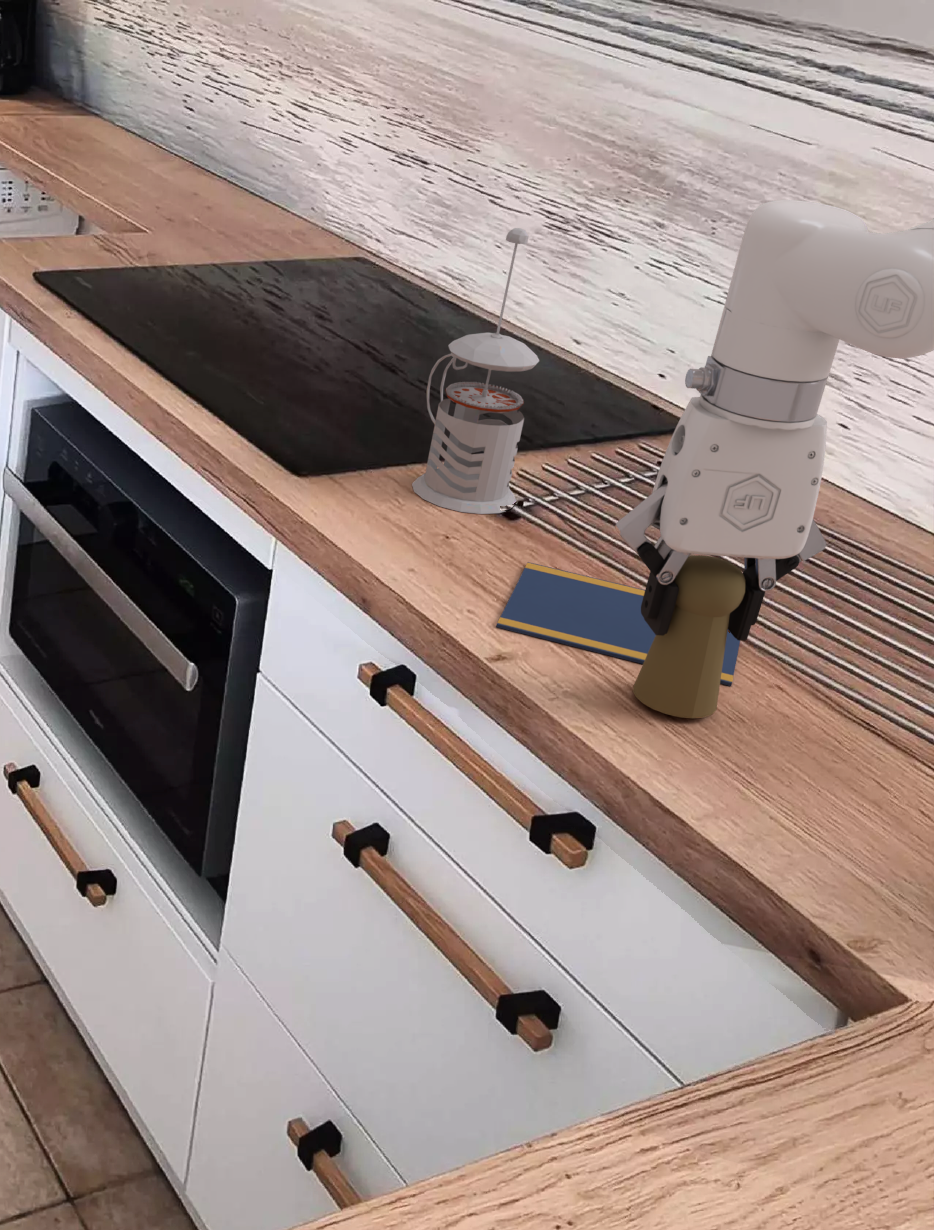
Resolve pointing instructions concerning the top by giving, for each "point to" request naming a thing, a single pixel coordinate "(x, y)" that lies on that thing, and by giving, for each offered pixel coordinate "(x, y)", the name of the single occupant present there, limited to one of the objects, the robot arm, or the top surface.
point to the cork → (692, 641)
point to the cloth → (588, 615)
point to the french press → (477, 423)
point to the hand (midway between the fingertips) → (694, 627)
